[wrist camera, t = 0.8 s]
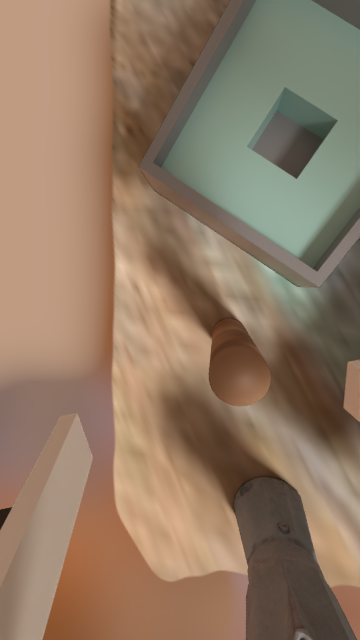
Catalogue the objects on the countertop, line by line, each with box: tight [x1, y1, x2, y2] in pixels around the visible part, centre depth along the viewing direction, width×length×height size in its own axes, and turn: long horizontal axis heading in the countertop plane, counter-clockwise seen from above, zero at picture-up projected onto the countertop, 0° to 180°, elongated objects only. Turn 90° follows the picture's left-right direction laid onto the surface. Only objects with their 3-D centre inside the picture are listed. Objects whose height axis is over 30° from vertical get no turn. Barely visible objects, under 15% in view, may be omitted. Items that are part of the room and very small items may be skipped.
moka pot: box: [233, 477, 357, 640], centre depth 22 cm, size 10×15×20 cm, turn 17°
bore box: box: [139, 0, 360, 288], centre depth 23 cm, size 20×20×6 cm
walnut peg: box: [209, 318, 271, 406], centre depth 23 cm, size 4×4×14 cm
